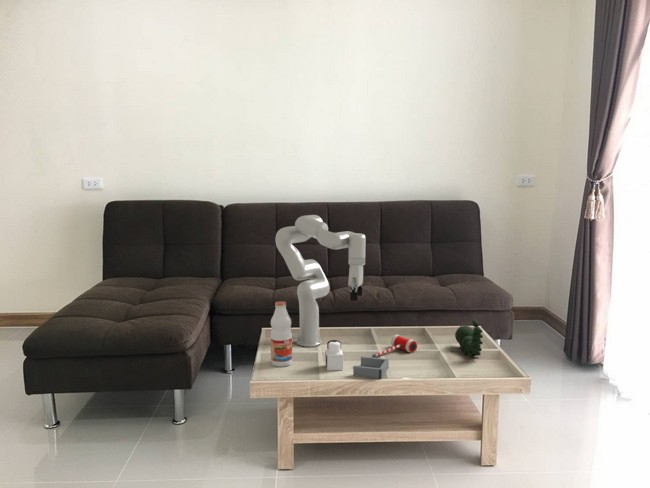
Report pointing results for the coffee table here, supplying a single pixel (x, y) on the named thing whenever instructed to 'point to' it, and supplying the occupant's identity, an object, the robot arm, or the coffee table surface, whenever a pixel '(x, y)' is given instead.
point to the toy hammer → (400, 345)
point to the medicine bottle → (334, 356)
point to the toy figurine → (469, 338)
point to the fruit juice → (281, 336)
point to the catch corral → (368, 371)
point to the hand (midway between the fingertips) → (356, 297)
